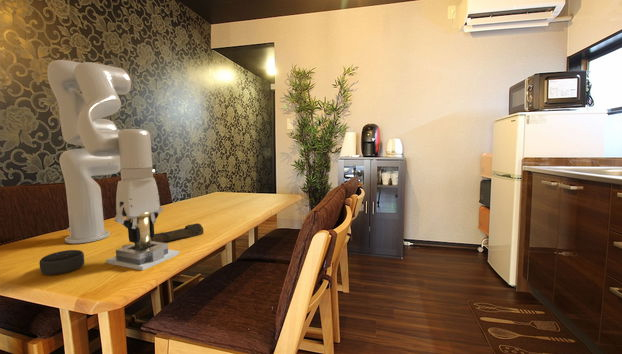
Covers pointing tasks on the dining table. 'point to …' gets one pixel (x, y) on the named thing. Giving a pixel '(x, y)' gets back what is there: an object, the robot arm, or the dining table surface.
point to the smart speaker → (61, 262)
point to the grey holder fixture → (142, 253)
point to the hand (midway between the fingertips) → (142, 238)
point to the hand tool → (179, 233)
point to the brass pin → (143, 231)
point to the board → (146, 265)
